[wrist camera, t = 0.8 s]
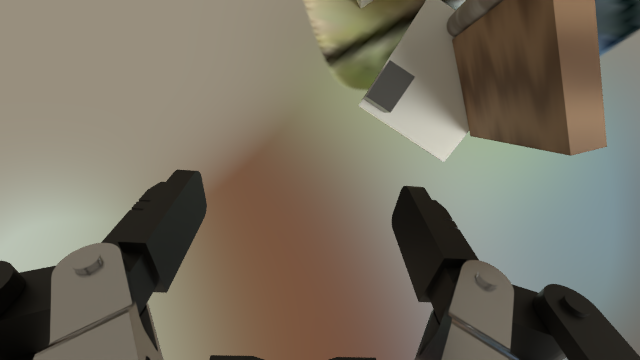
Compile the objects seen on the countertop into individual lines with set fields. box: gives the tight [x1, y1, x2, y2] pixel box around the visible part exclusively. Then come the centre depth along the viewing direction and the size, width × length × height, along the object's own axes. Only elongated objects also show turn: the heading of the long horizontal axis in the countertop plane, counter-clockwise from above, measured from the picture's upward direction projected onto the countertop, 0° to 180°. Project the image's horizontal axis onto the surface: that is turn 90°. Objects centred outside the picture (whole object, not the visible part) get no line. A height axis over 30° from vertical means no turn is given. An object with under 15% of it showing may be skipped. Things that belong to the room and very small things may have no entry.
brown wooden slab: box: [447, 0, 607, 155], centre depth 22 cm, size 14×3×15 cm, turn 18°
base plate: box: [359, 0, 469, 162], centre depth 28 cm, size 14×13×7 cm
